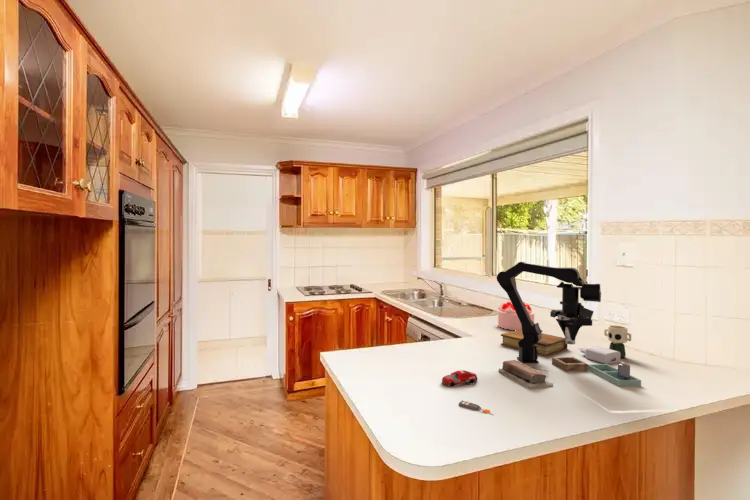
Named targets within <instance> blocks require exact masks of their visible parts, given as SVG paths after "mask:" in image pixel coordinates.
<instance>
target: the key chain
mask: <svg viewBox="0 0 750 500" xmlns="http://www.w3.org/2000/svg"><path fill="white" fill-rule="evenodd" d="M458 406H459V407H461V408H464V409H469V410H472V411H479V412H480V411H482V413H484V414H488V415H491V416H494V414H493V413H491V410H490V409H487V408H485V409H483V408H482V407H481V406H480V405H479V404H478V403H477V404H476V403H473V402H471V401H468V400H461V401H460V402H458Z"/></svg>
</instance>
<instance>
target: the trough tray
mask: <svg viewBox="0 0 750 500" xmlns="http://www.w3.org/2000/svg"><path fill="white" fill-rule="evenodd" d="M586 364H587V371H588V372H590V373H593V374H594V375H596V376H598V377H600V378H602V379H604V380H606V381H608V382H609V383H611V384H613V385H615V386H617V387H619V388H620V387H621V388H622V387H642V379H639V378H637V377H635V376H633V375H632V374H630V380H618V379H617V378H618V368H616V367H614V366H613V365H611V364H603V363H590V364H589V363H586Z"/></svg>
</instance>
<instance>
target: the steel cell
mask: <svg viewBox="0 0 750 500" xmlns="http://www.w3.org/2000/svg"><path fill="white" fill-rule="evenodd" d="M564 338H565V343H566V344H567V345H576V339H575V340H574V341H572V340H571V338H570V334H569V330H568V327H567V326H565V336H564Z"/></svg>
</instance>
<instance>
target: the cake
mask: <svg viewBox="0 0 750 500" xmlns="http://www.w3.org/2000/svg"><path fill="white" fill-rule="evenodd" d="M523 303H524V306H525V308H526V310H527V312H528V314H529V316H530V318H531V320H532V321H533V322H534V323H535V312H534V311H533V309H532V307H531V306H530V305H529V303H525V302H524V301H523ZM497 309H498V315H497V317H498V318H497V323H498V324H497V325H498V327H499V328H500V327H501V329H503V328H504V329H503V330H507V329H509V330H508V331H513V330H520V329H522V326H521V322H520V320H519V318H518V316H517V314H516V312H515V309H514V307H513V305H512V303H511V301H507V302H506V303H504V302H502V303H501V304H500V305H499V306H498V307H497Z"/></svg>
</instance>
